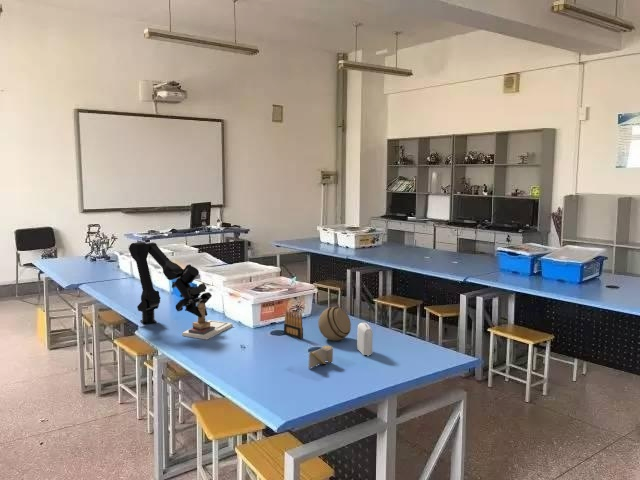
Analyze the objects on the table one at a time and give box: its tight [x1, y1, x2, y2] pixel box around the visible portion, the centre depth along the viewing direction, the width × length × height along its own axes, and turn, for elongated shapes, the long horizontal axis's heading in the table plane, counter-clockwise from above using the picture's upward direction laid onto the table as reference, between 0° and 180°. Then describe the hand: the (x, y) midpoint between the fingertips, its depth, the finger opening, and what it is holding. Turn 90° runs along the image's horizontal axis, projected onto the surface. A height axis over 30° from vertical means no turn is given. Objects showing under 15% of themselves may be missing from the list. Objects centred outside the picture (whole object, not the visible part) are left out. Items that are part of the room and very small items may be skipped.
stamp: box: [192, 303, 210, 331], centre depth 248 cm, size 6×6×12 cm
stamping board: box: [181, 319, 234, 340], centre depth 254 cm, size 22×13×2 cm, turn 159°
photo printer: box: [356, 322, 374, 356], centre depth 228 cm, size 10×4×12 cm, turn 14°
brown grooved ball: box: [318, 306, 352, 342], centre depth 244 cm, size 15×15×15 cm
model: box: [308, 345, 334, 369], centre depth 212 cm, size 3×11×8 cm, turn 141°
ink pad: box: [188, 326, 215, 335], centre depth 249 cm, size 9×8×1 cm
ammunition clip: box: [283, 308, 304, 340], centre depth 248 cm, size 11×2×12 cm, turn 48°
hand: (204, 316), depth 247 cm, fingers closed on stamp, 3 cm apart
